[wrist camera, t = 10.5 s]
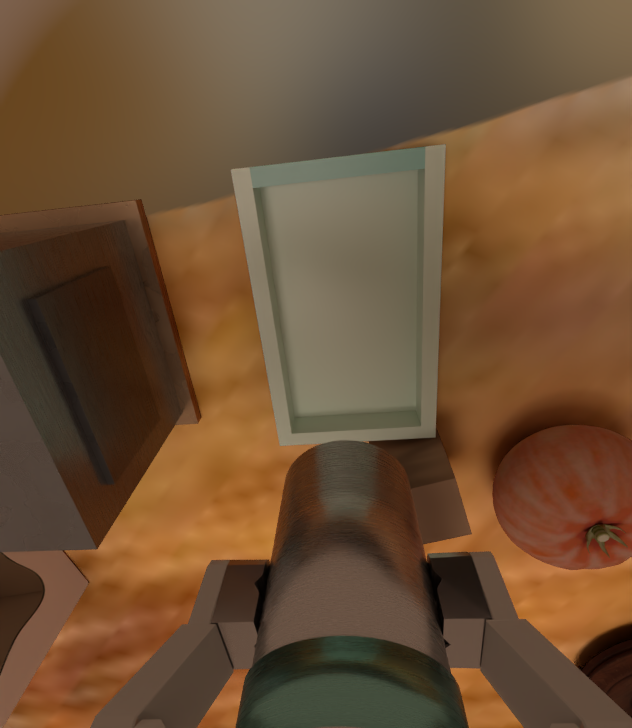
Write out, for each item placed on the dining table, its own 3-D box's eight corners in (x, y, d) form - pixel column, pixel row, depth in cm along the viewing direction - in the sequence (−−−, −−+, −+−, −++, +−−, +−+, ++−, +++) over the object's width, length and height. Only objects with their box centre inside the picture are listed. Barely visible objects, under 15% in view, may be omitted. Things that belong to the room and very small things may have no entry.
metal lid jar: (412, 433, 12) (496, 742, 5) (413, 534, 13) (477, 854, 7) (271, 441, 12) (197, 738, 6) (291, 538, 14) (250, 844, 8)
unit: (141, 199, 24) (-34, 228, 13) (201, 417, 31) (122, 562, 20) (-39, 219, 25) (-348, 263, 14) (58, 426, 32) (-94, 568, 21)
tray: (433, 146, 22) (445, 144, 20) (427, 414, 30) (435, 437, 28) (242, 168, 23) (230, 169, 21) (284, 423, 31) (279, 445, 29)
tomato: (449, 462, 32) (481, 546, 25) (567, 375, 28) (645, 445, 21) (531, 528, 35) (581, 621, 28) (649, 457, 31) (742, 544, 24)
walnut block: (430, 413, 30) (455, 478, 24) (445, 462, 32) (471, 534, 26) (367, 431, 31) (375, 497, 25) (385, 477, 33) (397, 549, 27)
